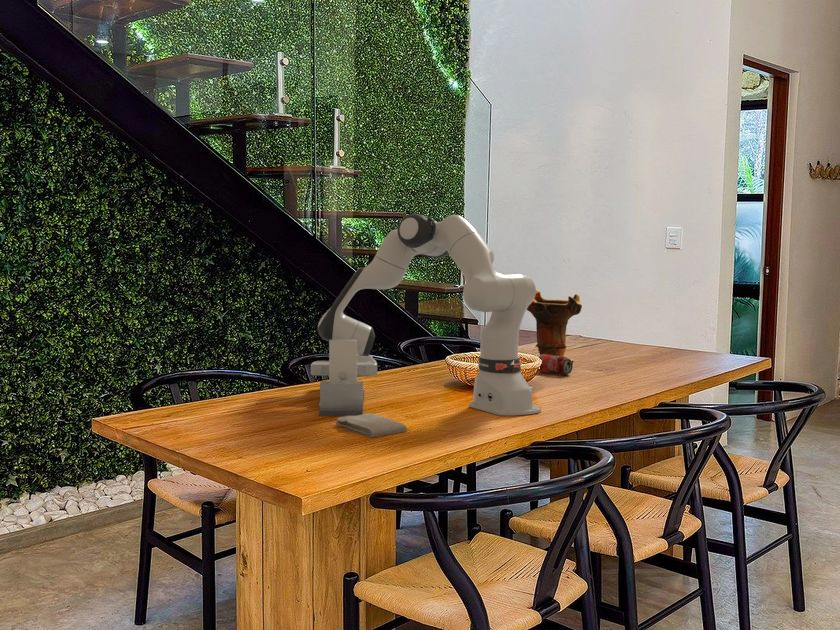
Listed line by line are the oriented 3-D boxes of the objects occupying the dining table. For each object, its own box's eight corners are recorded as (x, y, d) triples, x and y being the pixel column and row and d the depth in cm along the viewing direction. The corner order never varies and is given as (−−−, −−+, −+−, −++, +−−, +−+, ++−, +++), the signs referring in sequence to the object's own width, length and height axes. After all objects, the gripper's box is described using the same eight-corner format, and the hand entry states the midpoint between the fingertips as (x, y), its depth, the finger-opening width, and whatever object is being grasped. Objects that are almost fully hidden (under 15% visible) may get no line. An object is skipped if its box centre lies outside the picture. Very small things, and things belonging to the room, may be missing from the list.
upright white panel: (322, 395, 266) (322, 338, 264) (357, 395, 267) (357, 338, 265) (321, 400, 258) (321, 342, 256) (356, 400, 259) (356, 342, 257)
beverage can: (563, 377, 313) (563, 358, 313) (536, 373, 322) (536, 355, 321) (575, 375, 318) (575, 356, 318) (548, 371, 327) (548, 353, 326)
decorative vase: (582, 364, 338) (580, 291, 336) (522, 365, 343) (519, 293, 341) (584, 357, 359) (582, 288, 356) (526, 358, 363) (524, 289, 361)
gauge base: (324, 395, 277) (323, 368, 276) (364, 395, 277) (364, 368, 276) (317, 415, 247) (317, 385, 246) (362, 415, 247) (362, 385, 247)
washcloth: (368, 421, 243) (368, 410, 243) (409, 433, 229) (409, 421, 229) (332, 427, 236) (332, 415, 235) (371, 440, 222) (371, 428, 222)
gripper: (311, 355, 277) (308, 362, 264) (377, 355, 278) (377, 362, 265) (311, 375, 278) (308, 383, 264) (377, 375, 279) (377, 383, 265)
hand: (343, 372), depth 264 cm, fingers closed
